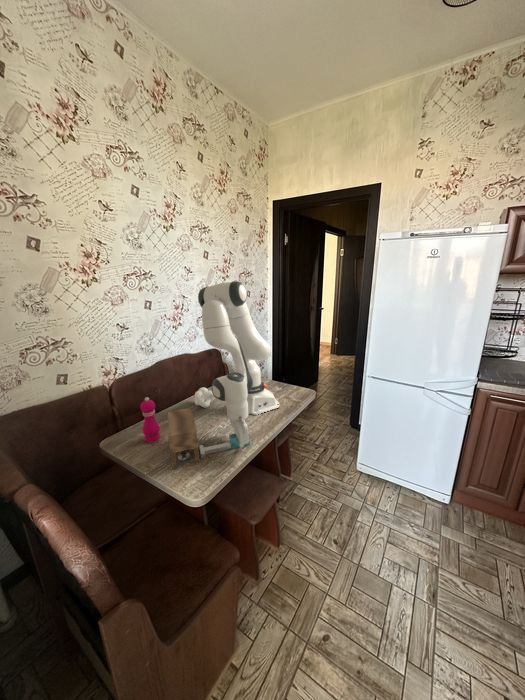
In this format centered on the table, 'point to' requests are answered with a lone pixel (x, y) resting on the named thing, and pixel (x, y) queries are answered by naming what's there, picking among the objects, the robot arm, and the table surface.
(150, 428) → the pepper mill
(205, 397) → the white knot
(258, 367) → the robot arm
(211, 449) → the block
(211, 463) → the table surface
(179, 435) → the wooden bench
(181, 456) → the silver flat dome
